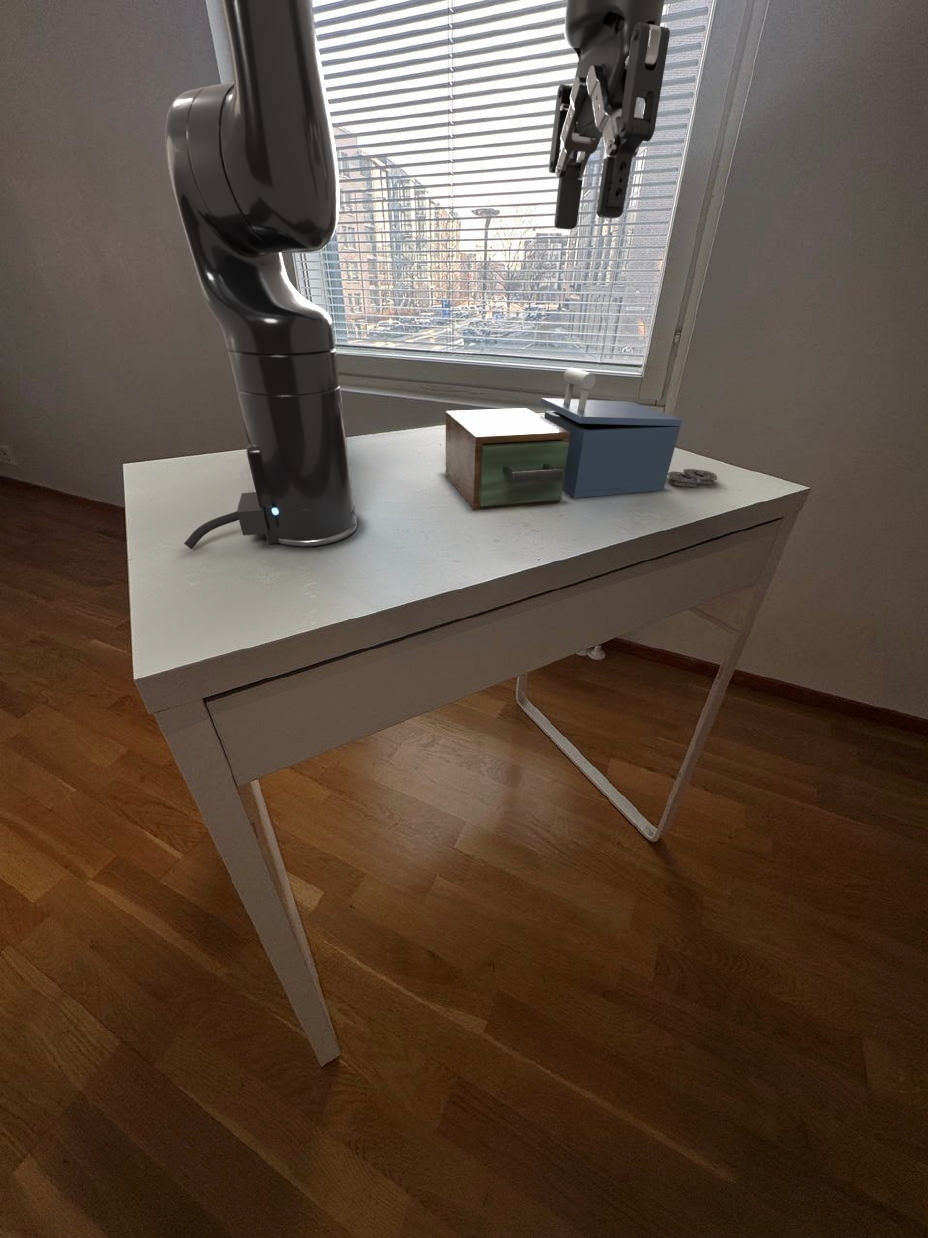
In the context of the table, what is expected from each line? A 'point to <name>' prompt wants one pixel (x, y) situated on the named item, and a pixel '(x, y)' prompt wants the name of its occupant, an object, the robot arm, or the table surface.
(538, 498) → the drawer
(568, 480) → the chest
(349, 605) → the table surface
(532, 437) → the cabinet
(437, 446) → the table surface
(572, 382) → the lid
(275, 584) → the table surface
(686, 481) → the corroded twin loop
